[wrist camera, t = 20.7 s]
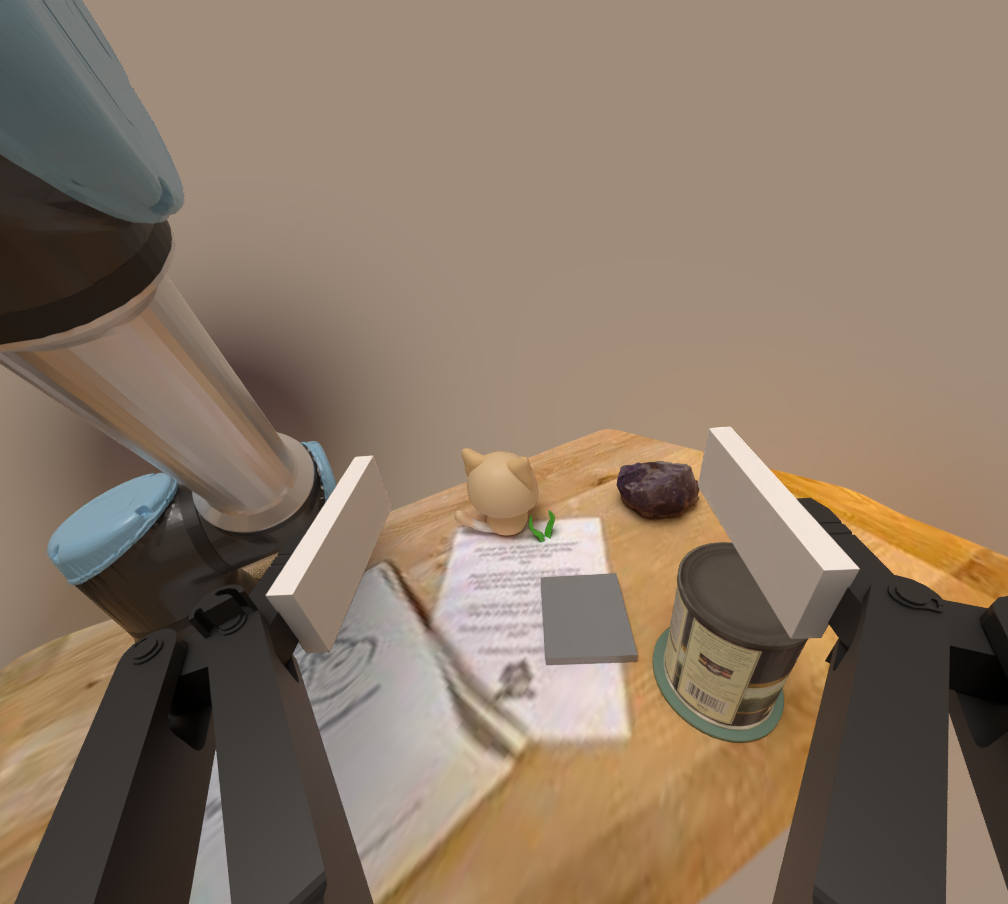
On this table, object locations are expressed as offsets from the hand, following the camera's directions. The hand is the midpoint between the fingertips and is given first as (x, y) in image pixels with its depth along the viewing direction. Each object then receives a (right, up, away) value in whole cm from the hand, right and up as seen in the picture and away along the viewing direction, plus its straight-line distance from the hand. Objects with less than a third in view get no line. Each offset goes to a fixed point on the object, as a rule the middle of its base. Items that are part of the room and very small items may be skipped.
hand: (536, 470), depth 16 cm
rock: (+23, -9, +47) cm, 53 cm away
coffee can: (+21, -23, +25) cm, 39 cm away
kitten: (0, -12, +48) cm, 49 cm away
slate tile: (+8, -22, +27) cm, 36 cm away
